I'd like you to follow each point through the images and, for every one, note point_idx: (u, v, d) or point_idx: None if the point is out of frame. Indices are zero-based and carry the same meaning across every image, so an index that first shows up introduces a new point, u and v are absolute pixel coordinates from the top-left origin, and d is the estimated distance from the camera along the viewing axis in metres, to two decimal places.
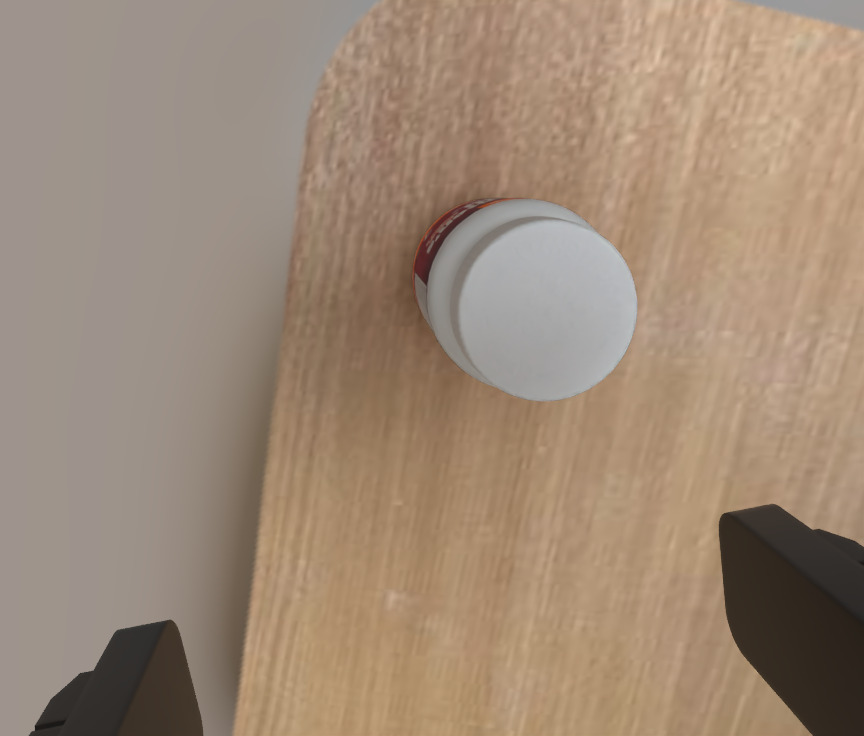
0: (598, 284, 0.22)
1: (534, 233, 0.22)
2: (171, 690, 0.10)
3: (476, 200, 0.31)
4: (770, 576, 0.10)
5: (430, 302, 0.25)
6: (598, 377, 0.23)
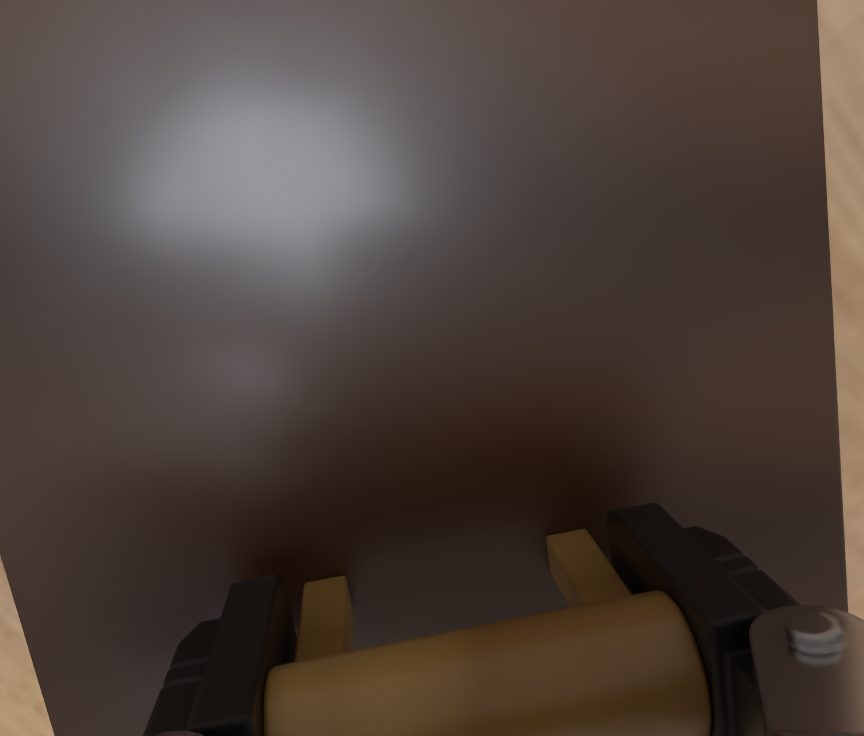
0: None
1: None
2: (286, 637, 0.11)
3: None
4: (640, 570, 0.11)
5: None
6: None
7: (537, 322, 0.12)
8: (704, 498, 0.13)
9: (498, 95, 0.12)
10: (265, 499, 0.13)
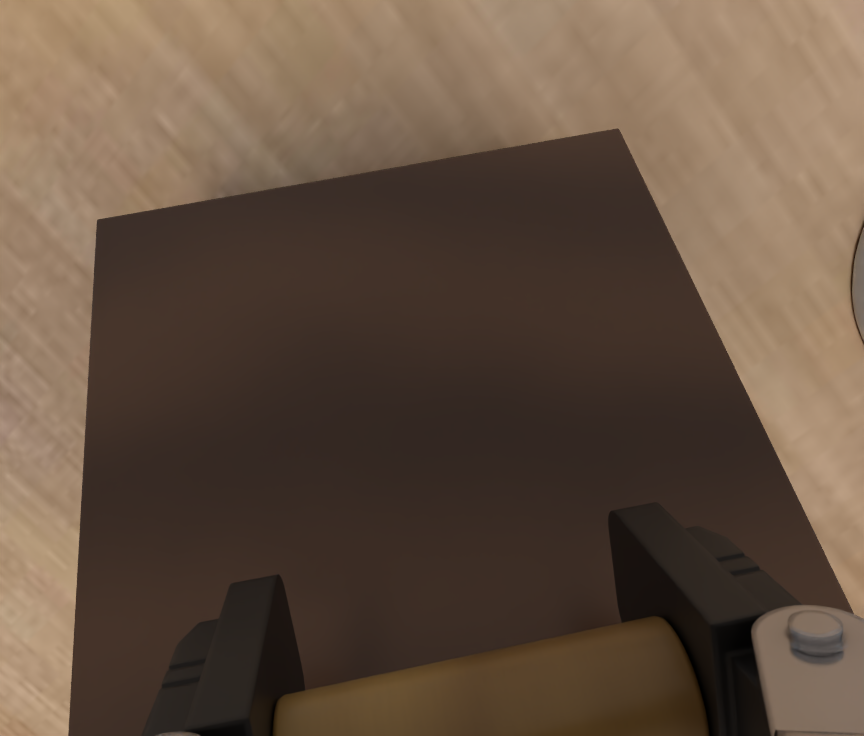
0: None
1: None
2: (284, 638, 0.11)
3: None
4: (642, 570, 0.11)
5: None
6: None
7: (543, 520, 0.15)
8: None
9: (494, 373, 0.17)
10: (310, 683, 0.14)
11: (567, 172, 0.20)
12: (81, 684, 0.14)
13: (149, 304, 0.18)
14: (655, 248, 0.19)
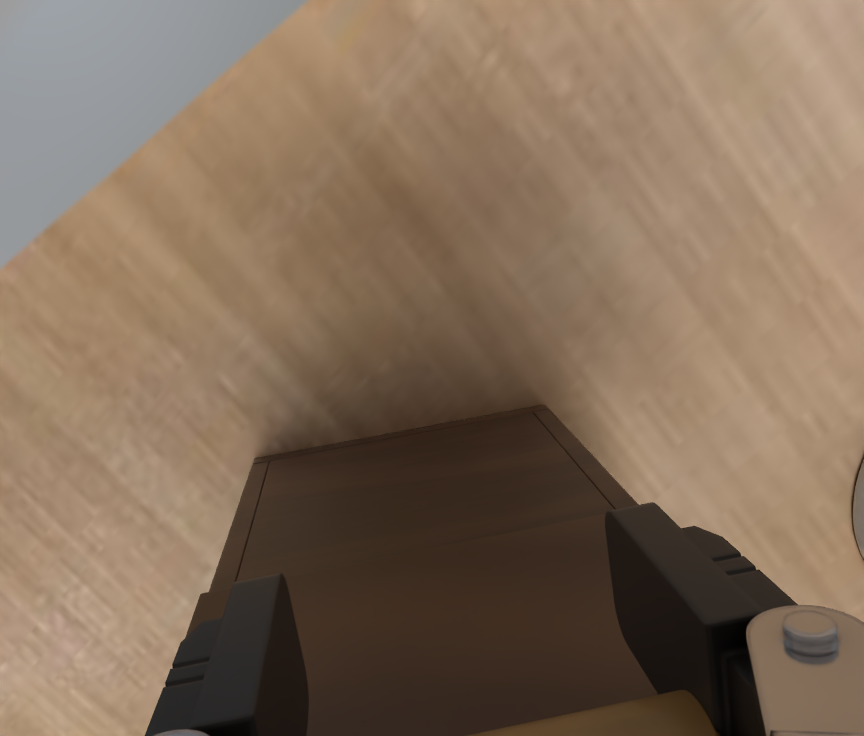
0: None
1: None
2: (288, 636, 0.11)
3: None
4: (638, 570, 0.11)
5: None
6: None
7: None
8: None
9: (545, 669, 0.17)
10: None
11: None
12: None
13: None
14: None
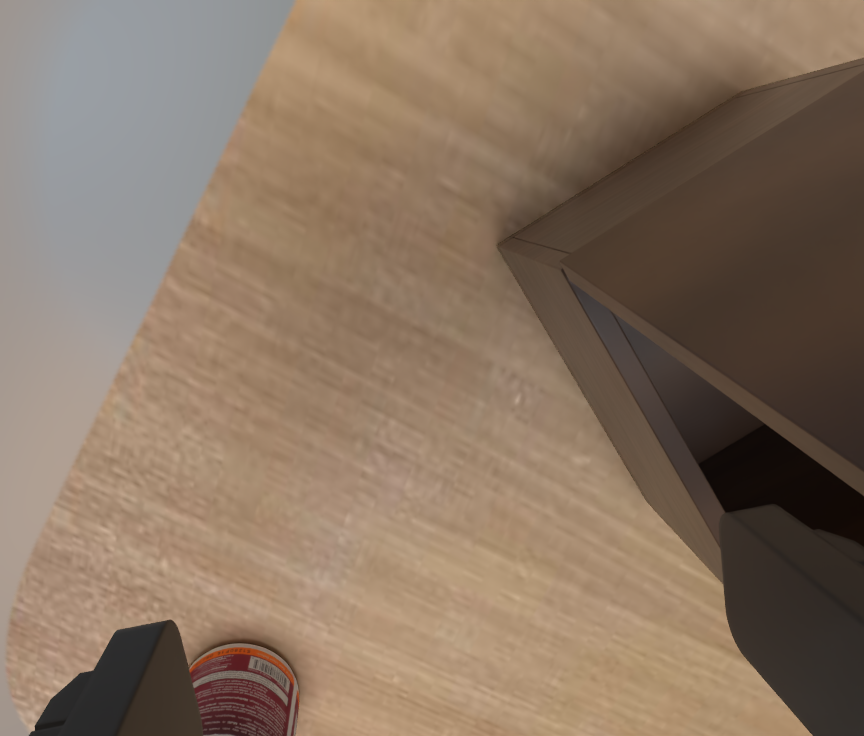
0: None
1: None
2: (171, 691, 0.10)
3: None
4: (770, 577, 0.10)
5: None
6: None
7: None
8: None
9: None
10: None
11: None
12: (765, 391, 0.14)
13: (635, 258, 0.22)
14: None
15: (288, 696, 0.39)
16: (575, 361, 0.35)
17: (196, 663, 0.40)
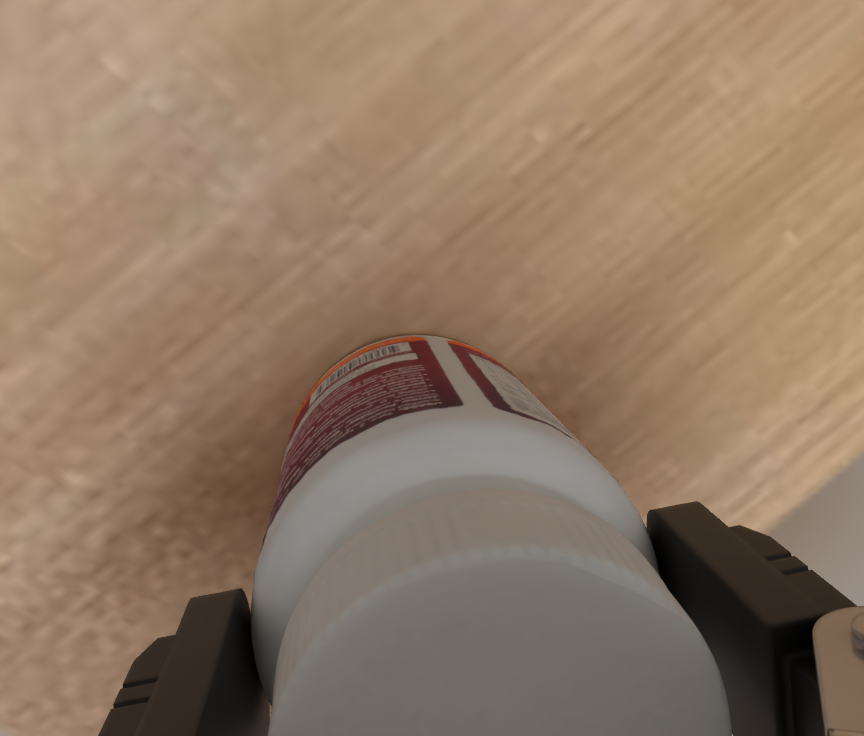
0: None
1: None
2: (245, 654, 0.11)
3: None
4: (686, 570, 0.11)
5: None
6: (517, 564, 0.08)
7: None
8: None
9: None
10: None
11: None
12: None
13: None
14: None
15: (414, 351, 0.16)
16: None
17: None
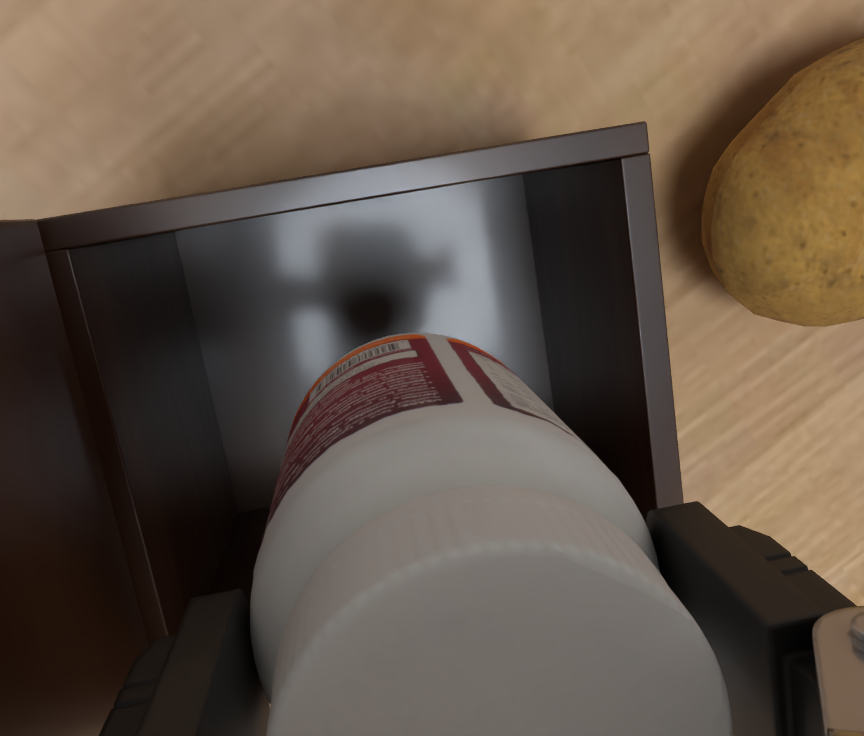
0: None
1: None
2: (245, 654, 0.11)
3: None
4: (686, 570, 0.11)
5: None
6: (517, 561, 0.08)
7: None
8: None
9: None
10: None
11: None
12: None
13: None
14: None
15: (414, 349, 0.16)
16: None
17: None
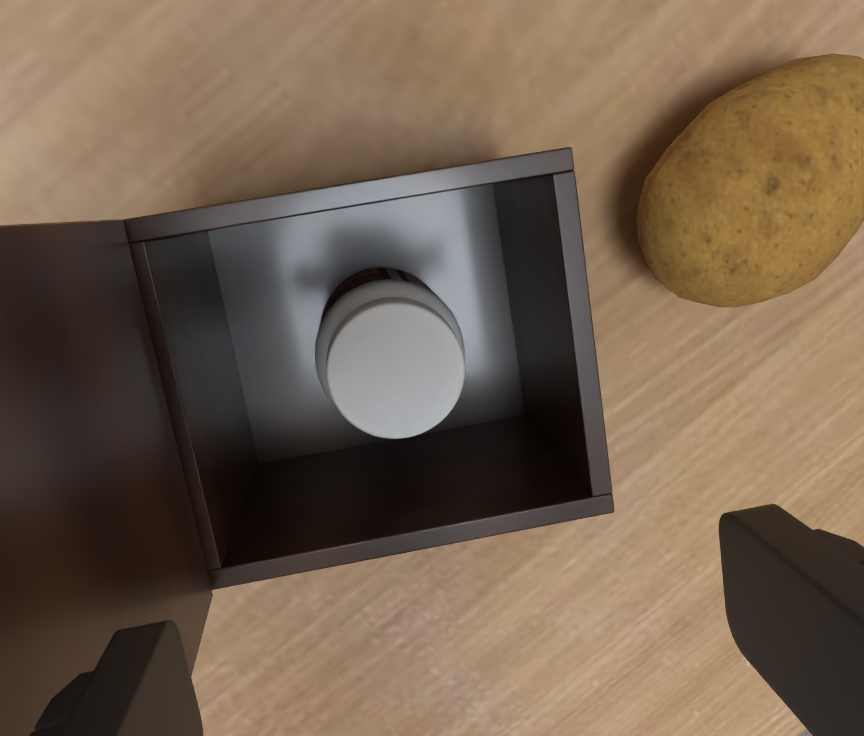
0: (353, 365, 0.29)
1: (368, 425, 0.29)
2: (172, 690, 0.10)
3: None
4: (770, 577, 0.10)
5: None
6: (397, 308, 0.29)
7: None
8: None
9: None
10: None
11: None
12: None
13: None
14: None
15: (379, 270, 0.37)
16: None
17: None
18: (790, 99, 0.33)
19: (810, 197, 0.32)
